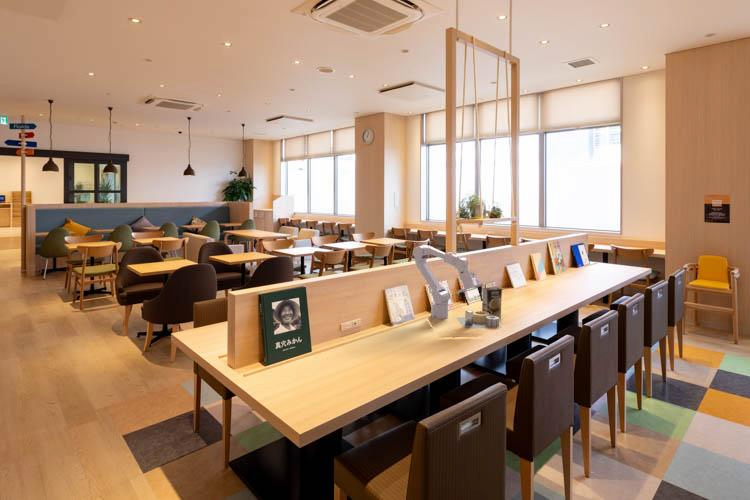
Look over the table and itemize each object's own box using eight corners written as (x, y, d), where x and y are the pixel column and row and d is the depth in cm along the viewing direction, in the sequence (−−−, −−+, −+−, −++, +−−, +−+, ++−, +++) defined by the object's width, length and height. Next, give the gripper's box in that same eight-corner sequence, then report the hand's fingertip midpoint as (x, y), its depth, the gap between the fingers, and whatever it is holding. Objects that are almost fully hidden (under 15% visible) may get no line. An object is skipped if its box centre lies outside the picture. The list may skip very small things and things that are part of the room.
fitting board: (464, 330, 236) (464, 320, 235) (456, 319, 256) (456, 310, 255) (502, 329, 237) (502, 319, 236) (491, 318, 257) (491, 309, 256)
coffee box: (487, 317, 258) (487, 290, 256) (481, 314, 265) (482, 287, 262) (501, 316, 261) (502, 289, 259) (495, 313, 267) (496, 286, 265)
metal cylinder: (466, 325, 241) (466, 312, 240) (464, 323, 245) (464, 310, 244) (473, 325, 241) (473, 312, 240) (471, 323, 245) (472, 310, 244)
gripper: (453, 283, 243) (461, 307, 241) (479, 275, 240) (488, 299, 239) (454, 283, 250) (462, 306, 248) (479, 274, 247) (488, 298, 245)
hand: (475, 303), depth 244 cm, fingers open, 7 cm apart
